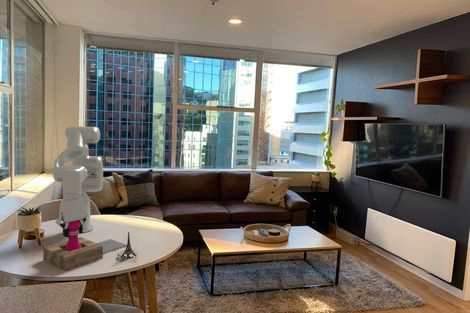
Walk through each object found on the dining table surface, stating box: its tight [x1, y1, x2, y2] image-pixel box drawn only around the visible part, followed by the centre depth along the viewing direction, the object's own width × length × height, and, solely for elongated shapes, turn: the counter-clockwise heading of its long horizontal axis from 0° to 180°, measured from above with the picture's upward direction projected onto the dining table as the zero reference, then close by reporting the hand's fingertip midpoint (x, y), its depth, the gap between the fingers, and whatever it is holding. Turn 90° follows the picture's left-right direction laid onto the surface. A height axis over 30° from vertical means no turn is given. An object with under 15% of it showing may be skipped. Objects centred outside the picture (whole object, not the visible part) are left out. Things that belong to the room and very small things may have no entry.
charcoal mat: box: [96, 238, 127, 255], centre depth 177 cm, size 14×14×1 cm
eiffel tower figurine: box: [115, 231, 137, 263], centre depth 165 cm, size 15×10×13 cm
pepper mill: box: [65, 220, 82, 252], centre depth 159 cm, size 7×7×20 cm
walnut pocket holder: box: [42, 236, 104, 272], centre depth 160 cm, size 18×18×6 cm
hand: (73, 234), depth 159 cm, fingers closed on pepper mill, 5 cm apart
